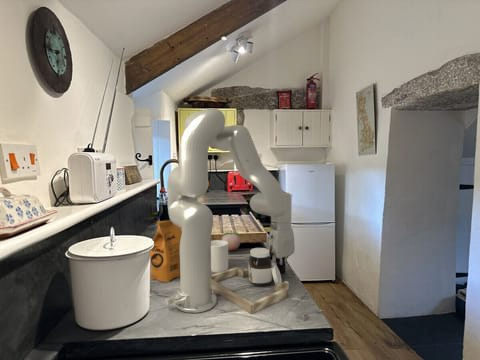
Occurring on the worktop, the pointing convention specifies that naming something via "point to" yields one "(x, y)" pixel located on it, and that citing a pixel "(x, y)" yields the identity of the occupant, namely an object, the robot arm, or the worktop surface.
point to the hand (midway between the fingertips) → (280, 273)
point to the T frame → (255, 306)
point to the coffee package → (166, 252)
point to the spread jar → (262, 268)
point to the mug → (219, 256)
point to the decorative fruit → (232, 240)
